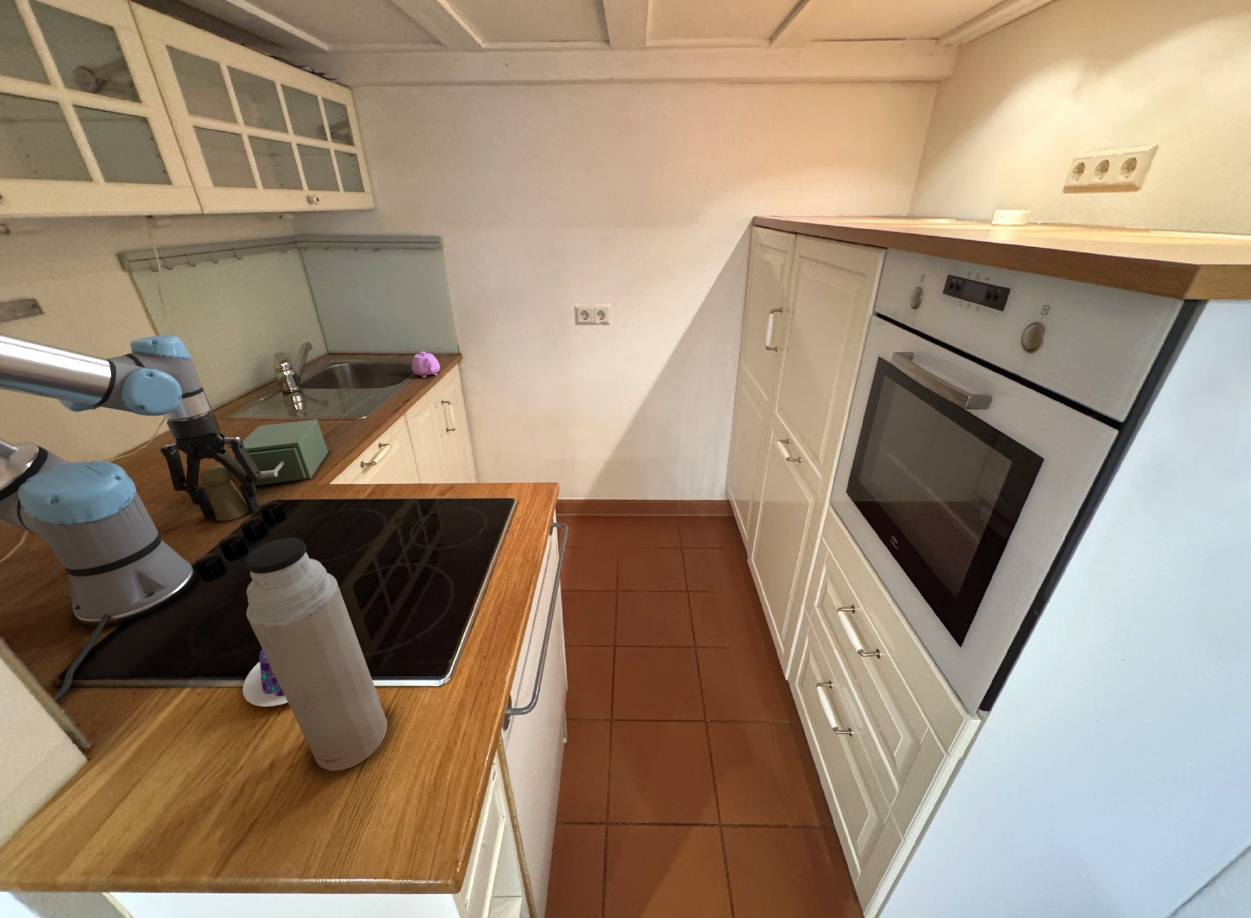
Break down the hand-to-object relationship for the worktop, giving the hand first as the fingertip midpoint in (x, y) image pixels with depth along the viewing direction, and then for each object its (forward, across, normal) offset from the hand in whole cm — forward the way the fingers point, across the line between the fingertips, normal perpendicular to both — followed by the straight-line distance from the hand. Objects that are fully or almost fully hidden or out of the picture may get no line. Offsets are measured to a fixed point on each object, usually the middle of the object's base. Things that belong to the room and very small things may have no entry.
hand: (232, 512), depth 109 cm
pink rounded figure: (0, -31, -102) cm, 106 cm away
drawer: (-1, -5, -15) cm, 16 cm away
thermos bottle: (0, -38, +65) cm, 75 cm away
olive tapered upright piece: (0, 0, 0) cm, 0 cm away
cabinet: (0, -5, -21) cm, 22 cm away
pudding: (0, -28, +52) cm, 59 cm away
